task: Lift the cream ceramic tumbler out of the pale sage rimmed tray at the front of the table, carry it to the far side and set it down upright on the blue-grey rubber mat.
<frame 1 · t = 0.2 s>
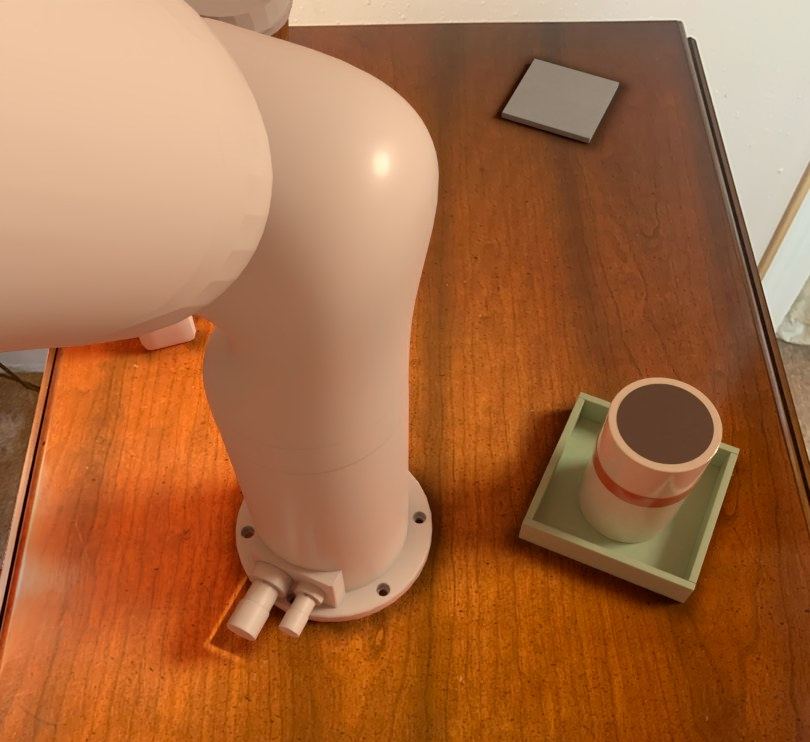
disposable coffee cup: (253, 129, 70), on the table
pepper shaker: (168, 330, 61), on the table
tray: (624, 502, 54), on the table
tumbler: (626, 499, 54), resting on tray
mat: (560, 102, 72), on the table
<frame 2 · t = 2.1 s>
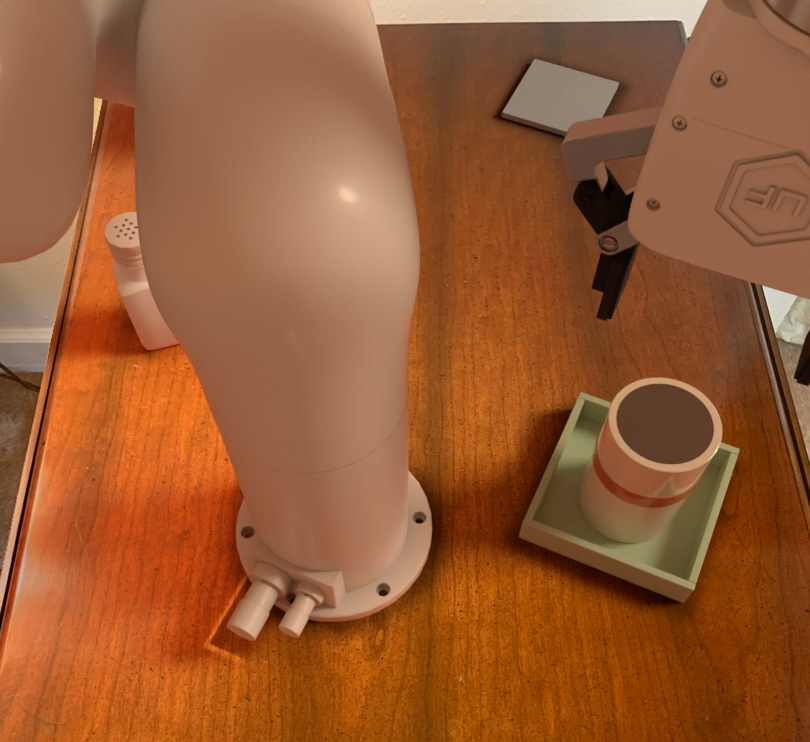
hand: (706, 330, 40), 16 cm above the table, tool pointing down, fingers open, 9 cm apart
nothing on the table moved.
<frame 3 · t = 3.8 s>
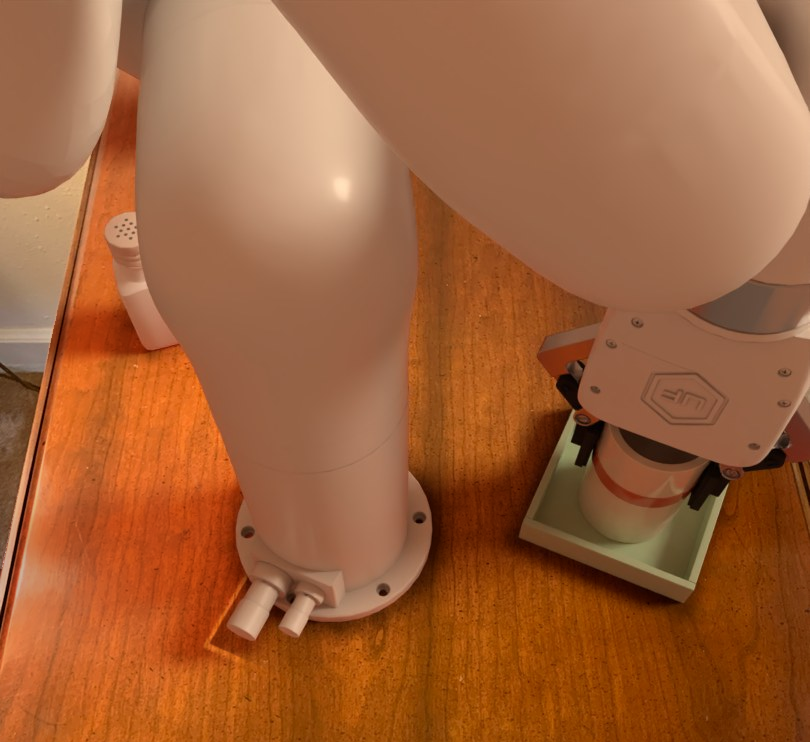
hand: (642, 468, 50), 4 cm above the table, tool pointing down, fingers closed on tumbler, 6 cm apart
tumbler: (626, 500, 54), resting on tray, touching gripper
everything else where it was.
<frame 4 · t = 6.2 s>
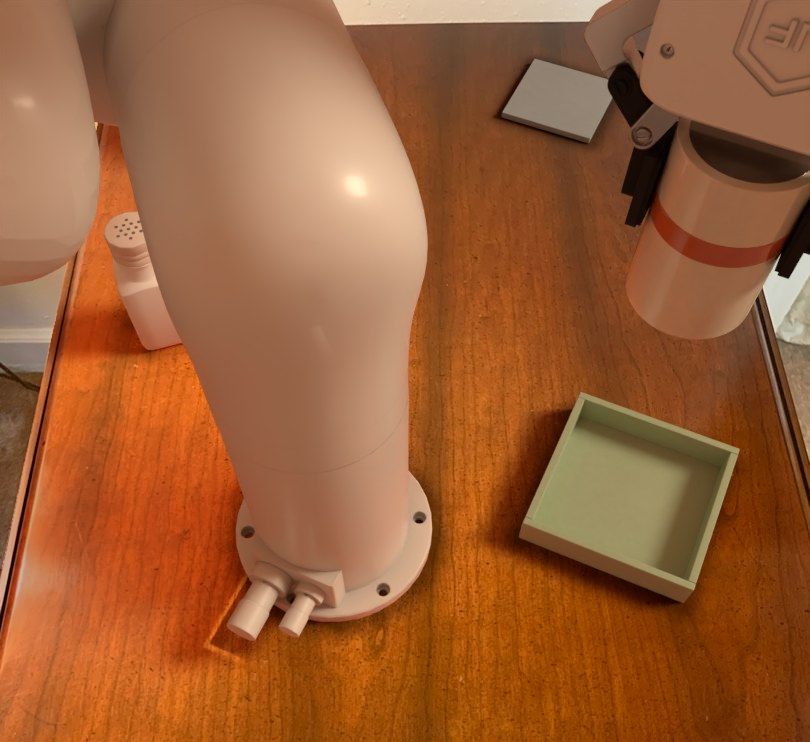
hand: (714, 229, 38), 20 cm above the table, tool pointing down, fingers closed on tumbler, 6 cm apart
tumbler: (687, 291, 42), point 15 cm above the table, touching gripper
everything else where it was.
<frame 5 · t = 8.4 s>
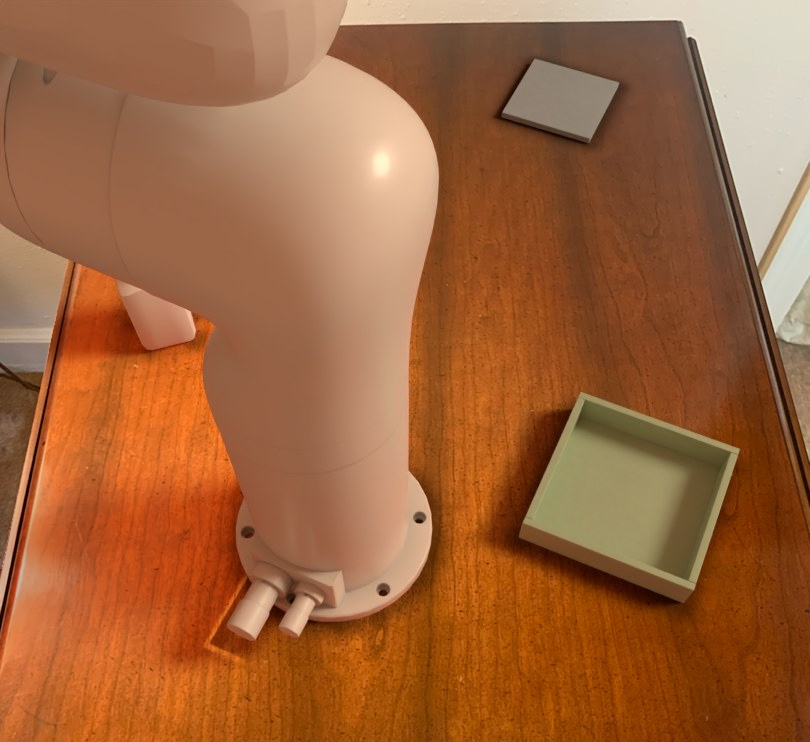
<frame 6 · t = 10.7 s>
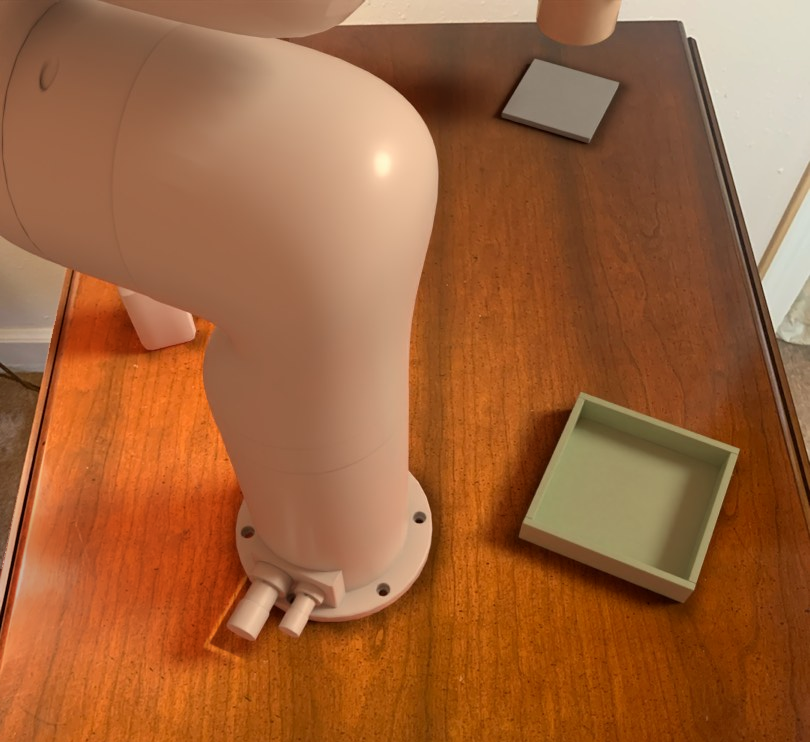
tumbler: (575, 20, 65), point 7 cm above the table, touching gripper
everything else where it was.
when the fingers open (5 cm above the table, at t = 12.8 s): tumbler stays where it is, resting on mat.
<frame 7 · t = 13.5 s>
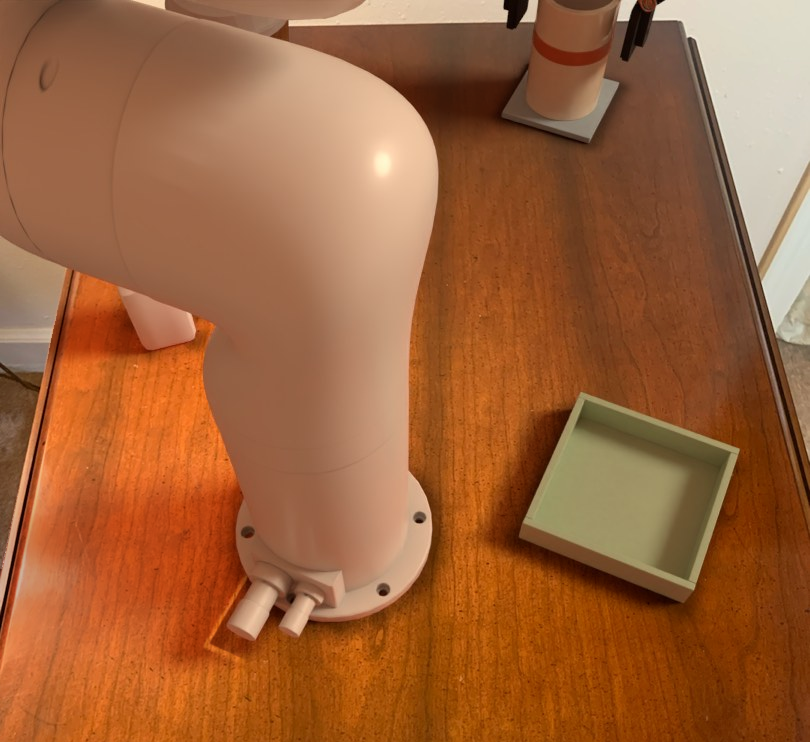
hand: (572, 35, 66), 6 cm above the table, tool pointing down, fingers open, 9 cm apart
tumbler: (561, 96, 71), resting on mat
everything else where it was.
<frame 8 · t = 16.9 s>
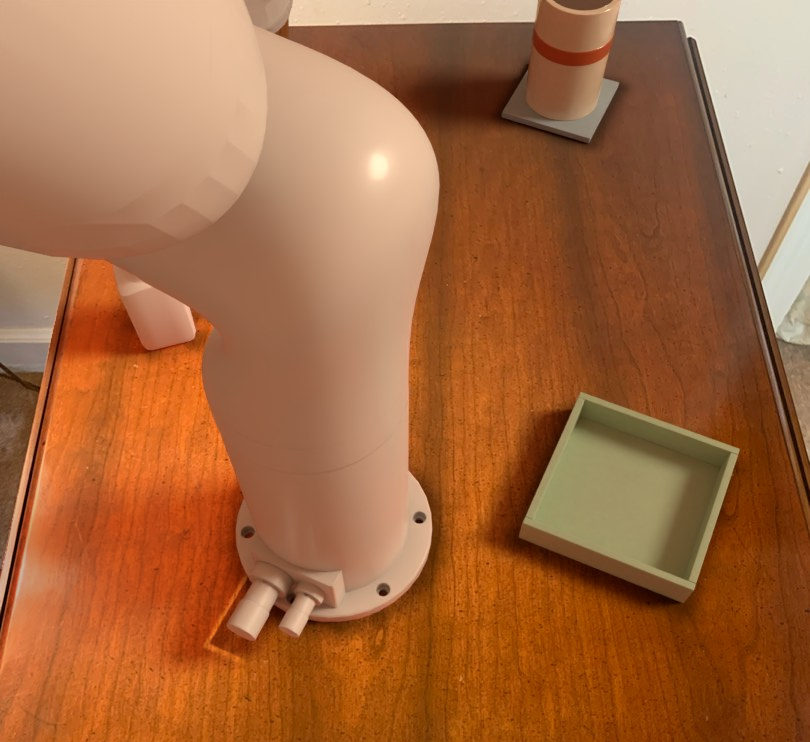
nothing on the table moved.
at the end: tumbler 0.1 cm off-centre on the mat, point 0.5 cm above the mat's base; tumbler tilted 0°; tumbler touching mat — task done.
